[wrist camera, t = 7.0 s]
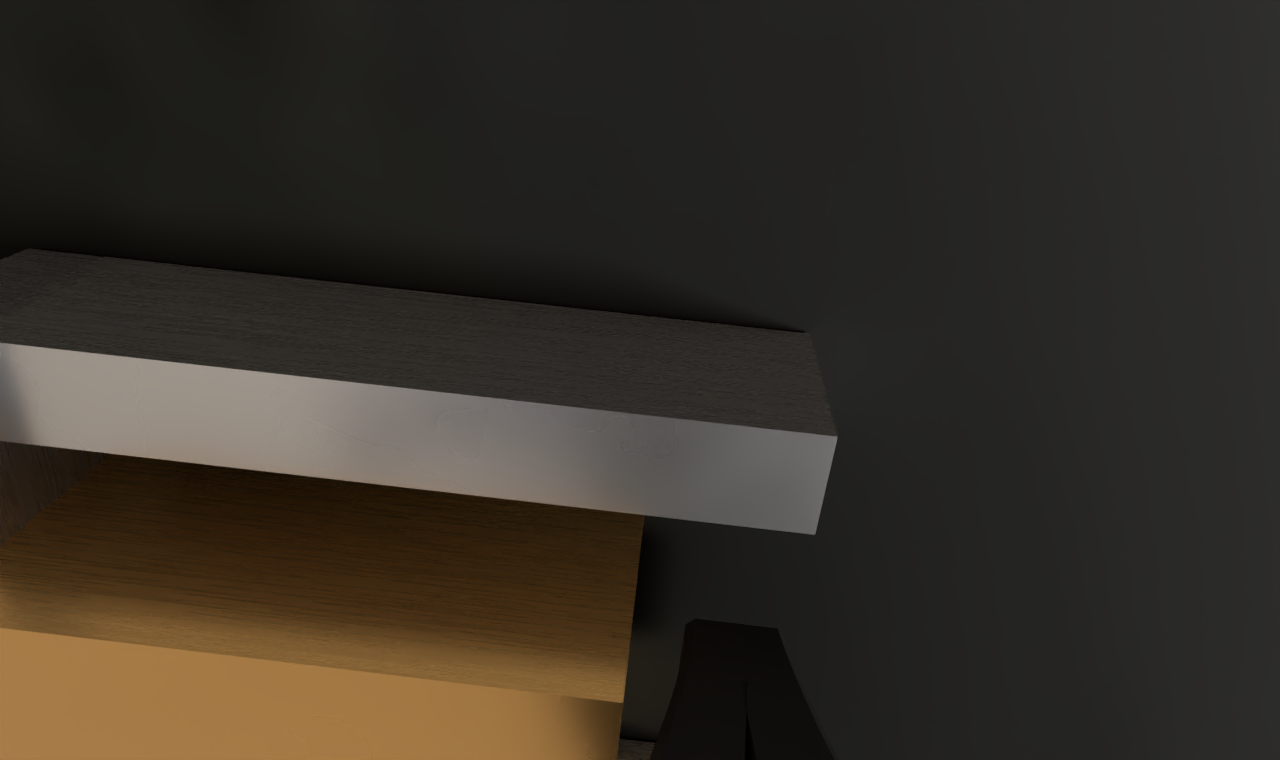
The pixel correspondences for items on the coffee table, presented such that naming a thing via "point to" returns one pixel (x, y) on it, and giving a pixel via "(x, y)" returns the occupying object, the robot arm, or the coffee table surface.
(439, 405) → the coupler channel
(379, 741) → the block
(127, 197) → the coffee table surface
